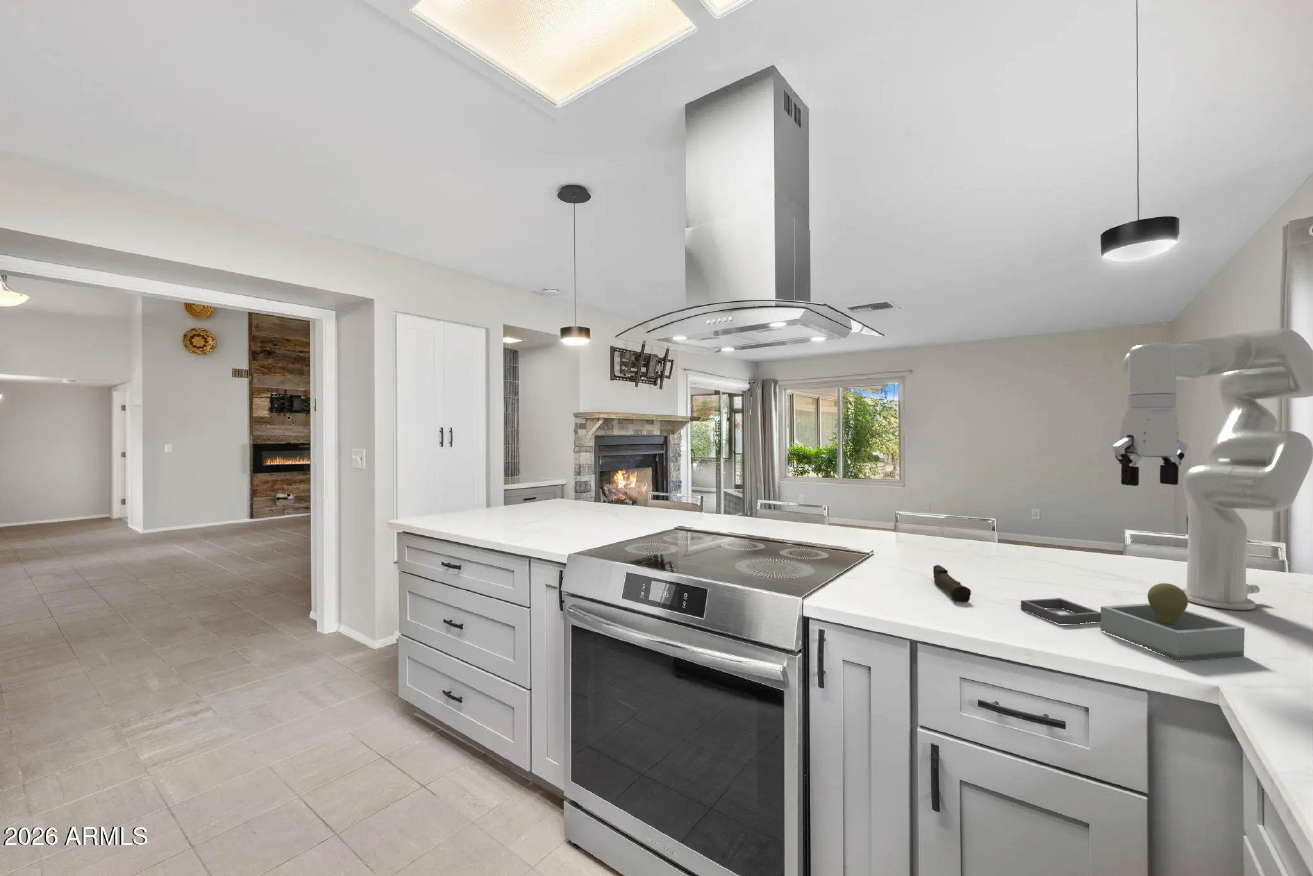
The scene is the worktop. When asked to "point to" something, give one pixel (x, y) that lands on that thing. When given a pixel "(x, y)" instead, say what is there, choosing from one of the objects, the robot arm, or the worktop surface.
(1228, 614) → the worktop surface
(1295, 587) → the worktop surface
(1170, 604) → the light bulb
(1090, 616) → the bulb holder
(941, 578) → the hand tool
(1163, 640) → the bin
